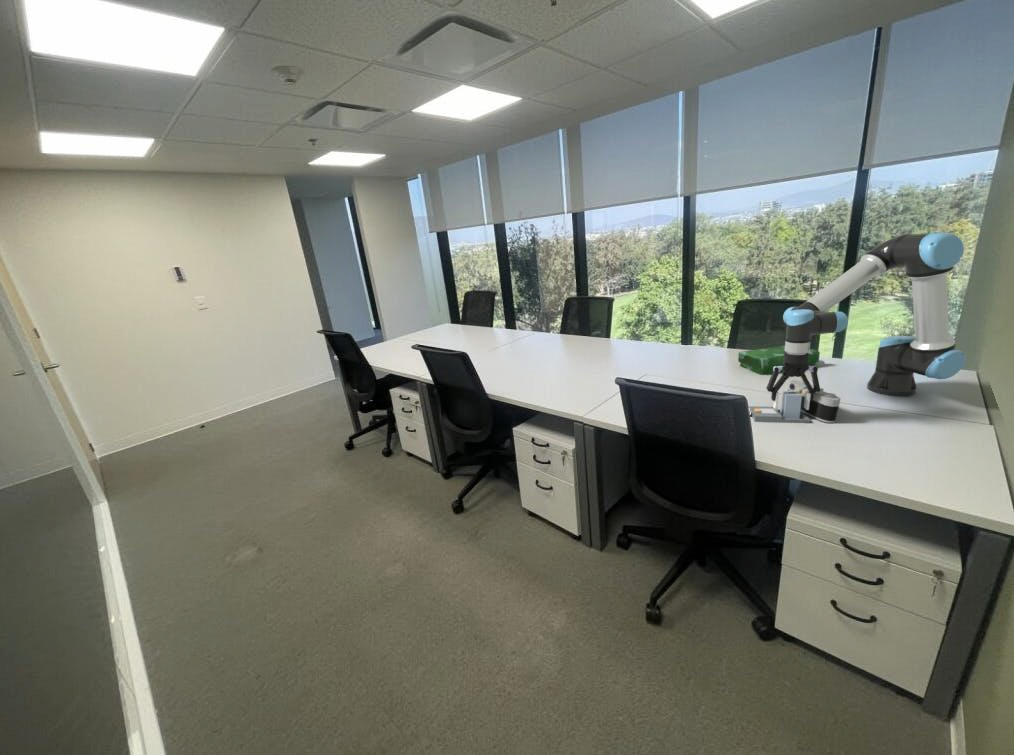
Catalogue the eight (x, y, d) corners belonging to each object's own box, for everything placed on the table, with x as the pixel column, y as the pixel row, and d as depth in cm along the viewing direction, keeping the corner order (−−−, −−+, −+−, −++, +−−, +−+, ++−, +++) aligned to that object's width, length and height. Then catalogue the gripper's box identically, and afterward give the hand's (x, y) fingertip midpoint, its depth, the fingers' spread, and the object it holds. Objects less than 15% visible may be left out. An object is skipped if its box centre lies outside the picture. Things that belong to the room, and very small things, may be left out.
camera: (847, 421, 149) (853, 396, 146) (823, 423, 148) (829, 397, 146) (801, 401, 170) (806, 378, 167) (780, 402, 169) (784, 380, 166)
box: (760, 379, 200) (762, 359, 197) (736, 369, 217) (737, 351, 214) (819, 370, 202) (822, 350, 199) (791, 361, 219) (793, 343, 216)
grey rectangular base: (800, 412, 160) (801, 405, 159) (809, 423, 151) (810, 415, 150) (740, 411, 167) (740, 404, 166) (745, 421, 158) (746, 414, 157)
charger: (794, 414, 159) (797, 390, 156) (799, 419, 154) (801, 394, 151) (780, 414, 161) (782, 390, 158) (783, 419, 156) (786, 394, 153)
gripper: (828, 348, 149) (821, 405, 156) (759, 350, 156) (755, 404, 163) (837, 354, 142) (829, 412, 149) (764, 355, 149) (760, 411, 156)
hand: (790, 408), depth 156 cm, fingers open, 9 cm apart
